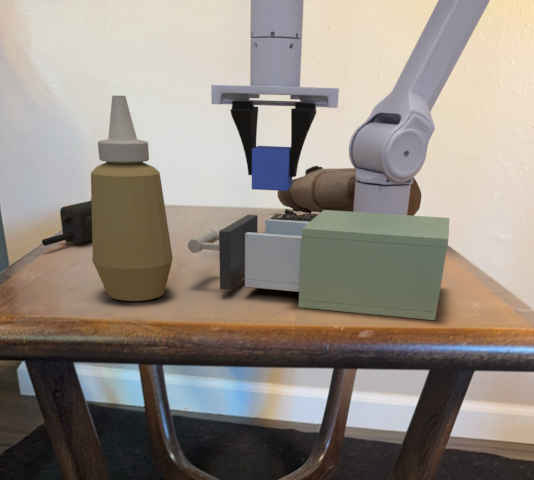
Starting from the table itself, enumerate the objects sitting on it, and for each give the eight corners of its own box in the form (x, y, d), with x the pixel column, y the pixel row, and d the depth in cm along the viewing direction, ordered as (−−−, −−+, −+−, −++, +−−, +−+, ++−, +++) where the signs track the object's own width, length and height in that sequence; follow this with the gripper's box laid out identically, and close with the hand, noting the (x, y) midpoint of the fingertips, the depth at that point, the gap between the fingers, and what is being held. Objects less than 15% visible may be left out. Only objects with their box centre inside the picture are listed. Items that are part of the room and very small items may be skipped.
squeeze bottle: (80, 298, 64) (52, 94, 55) (130, 281, 71) (112, 94, 61) (143, 310, 61) (125, 96, 52) (189, 291, 67) (181, 97, 58)
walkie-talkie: (98, 197, 91) (29, 212, 79) (118, 200, 90) (51, 215, 78) (101, 232, 94) (35, 252, 82) (121, 235, 93) (57, 255, 81)
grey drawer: (181, 285, 66) (179, 227, 63) (213, 264, 75) (212, 212, 72) (338, 300, 63) (343, 239, 60) (352, 275, 71) (357, 221, 68)
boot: (426, 177, 109) (340, 184, 119) (363, 145, 91) (267, 156, 100) (420, 228, 111) (336, 230, 121) (358, 206, 93) (265, 211, 102)
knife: (323, 228, 98) (312, 225, 98) (322, 232, 99) (311, 230, 98) (294, 210, 110) (283, 208, 109) (293, 214, 110) (283, 212, 110)
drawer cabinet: (298, 307, 63) (302, 228, 59) (318, 279, 73) (323, 209, 69) (435, 320, 61) (448, 238, 57) (437, 289, 70) (449, 217, 66)
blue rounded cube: (257, 184, 79) (258, 145, 77) (292, 186, 78) (293, 147, 76) (251, 189, 75) (251, 148, 73) (287, 191, 75) (289, 149, 72)
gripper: (343, 43, 72) (334, 174, 79) (219, 41, 73) (221, 169, 80) (340, 38, 66) (330, 180, 73) (205, 36, 67) (208, 175, 74)
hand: (272, 175), depth 76 cm, fingers closed on blue rounded cube, 4 cm apart
